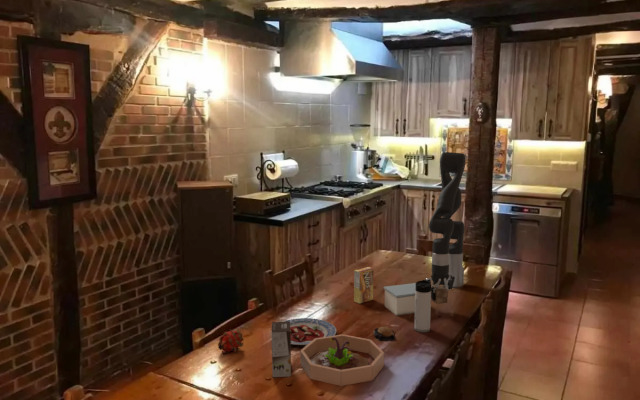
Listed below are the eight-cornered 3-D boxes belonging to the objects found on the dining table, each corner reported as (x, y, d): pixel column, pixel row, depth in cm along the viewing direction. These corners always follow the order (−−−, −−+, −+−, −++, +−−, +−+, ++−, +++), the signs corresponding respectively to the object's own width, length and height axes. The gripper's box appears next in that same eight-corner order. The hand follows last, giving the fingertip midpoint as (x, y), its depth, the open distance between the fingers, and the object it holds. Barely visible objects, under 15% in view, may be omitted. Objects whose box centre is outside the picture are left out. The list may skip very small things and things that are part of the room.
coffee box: (291, 376, 179) (290, 331, 176) (272, 377, 178) (271, 332, 175) (290, 364, 188) (290, 320, 185) (272, 364, 187) (271, 321, 184)
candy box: (367, 297, 255) (367, 266, 252) (373, 299, 252) (373, 268, 249) (353, 301, 249) (353, 270, 247) (359, 304, 246) (360, 272, 244)
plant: (332, 351, 199) (332, 322, 197) (377, 365, 187) (377, 335, 185) (298, 371, 183) (297, 340, 181) (345, 389, 171) (345, 356, 169)
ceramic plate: (287, 355, 195) (287, 347, 195) (261, 330, 218) (261, 323, 217) (348, 341, 207) (348, 333, 206) (317, 318, 229) (317, 312, 229)
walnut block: (441, 298, 239) (441, 285, 238) (447, 302, 234) (447, 289, 233) (431, 300, 238) (431, 287, 236) (437, 304, 233) (437, 291, 232)
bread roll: (372, 331, 216) (372, 323, 216) (392, 331, 217) (392, 322, 216) (375, 342, 206) (375, 333, 205) (397, 342, 206) (397, 333, 206)
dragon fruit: (244, 348, 204) (223, 365, 194) (229, 333, 206) (207, 348, 196) (252, 335, 199) (230, 352, 189) (236, 320, 201) (214, 335, 192)
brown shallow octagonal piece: (362, 343, 204) (362, 331, 203) (394, 376, 178) (394, 362, 178) (294, 354, 195) (294, 341, 194) (317, 390, 170) (317, 375, 169)
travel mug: (431, 327, 219) (432, 280, 216) (428, 333, 213) (430, 285, 209) (415, 325, 221) (416, 279, 218) (413, 331, 215) (414, 283, 212)
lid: (415, 285, 248) (415, 282, 248) (430, 294, 236) (430, 291, 235) (383, 289, 243) (383, 286, 242) (396, 298, 230) (396, 295, 230)
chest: (415, 302, 248) (416, 285, 247) (428, 311, 237) (429, 293, 236) (384, 306, 243) (384, 289, 242) (396, 315, 232) (396, 298, 230)
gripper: (430, 266, 227) (429, 304, 230) (459, 263, 231) (458, 300, 235) (421, 261, 234) (420, 298, 237) (450, 258, 238) (448, 294, 242)
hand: (439, 299), depth 236 cm, fingers closed on walnut block, 5 cm apart
